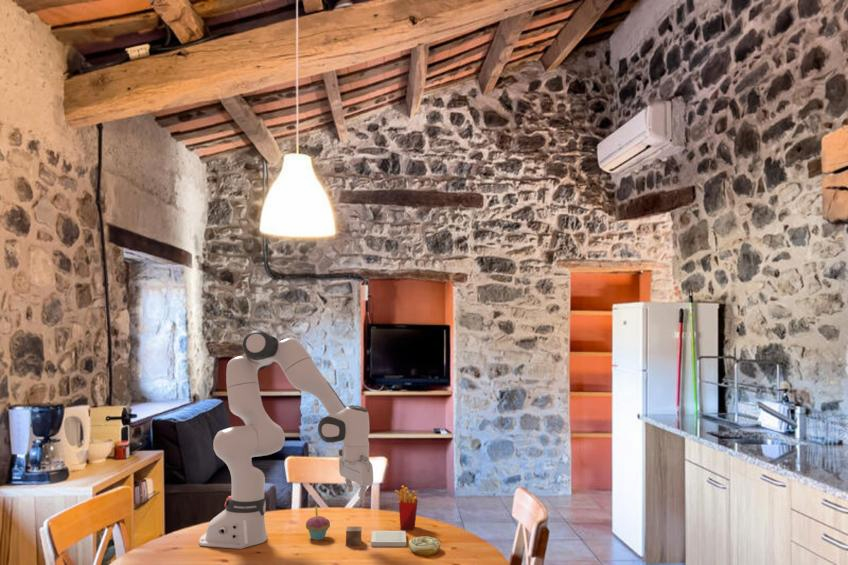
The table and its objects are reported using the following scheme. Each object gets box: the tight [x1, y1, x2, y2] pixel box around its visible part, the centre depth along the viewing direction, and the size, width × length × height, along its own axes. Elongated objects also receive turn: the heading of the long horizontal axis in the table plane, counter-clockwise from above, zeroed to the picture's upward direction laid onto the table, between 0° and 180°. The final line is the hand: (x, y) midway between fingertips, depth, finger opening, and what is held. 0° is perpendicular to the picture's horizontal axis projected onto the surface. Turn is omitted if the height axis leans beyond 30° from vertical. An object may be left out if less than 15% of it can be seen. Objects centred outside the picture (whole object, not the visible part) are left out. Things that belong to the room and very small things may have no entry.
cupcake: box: [305, 504, 331, 541], centre depth 230 cm, size 9×8×12 cm
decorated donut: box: [408, 536, 441, 557], centre depth 219 cm, size 10×11×4 cm
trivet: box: [370, 530, 407, 547], centre depth 228 cm, size 12×12×2 cm
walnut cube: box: [345, 526, 363, 547], centre depth 225 cm, size 5×5×5 cm
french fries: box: [394, 485, 419, 531], centre depth 243 cm, size 9×8×15 cm
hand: (355, 494), depth 226 cm, fingers open, 8 cm apart
